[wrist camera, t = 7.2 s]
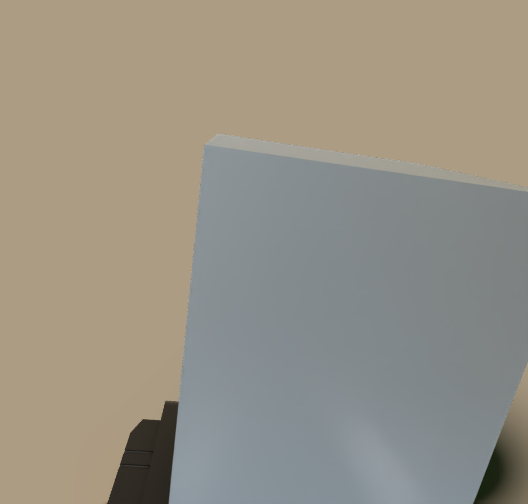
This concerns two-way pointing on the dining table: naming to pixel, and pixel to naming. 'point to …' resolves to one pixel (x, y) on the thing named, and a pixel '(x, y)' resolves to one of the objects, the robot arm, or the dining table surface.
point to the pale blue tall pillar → (347, 329)
